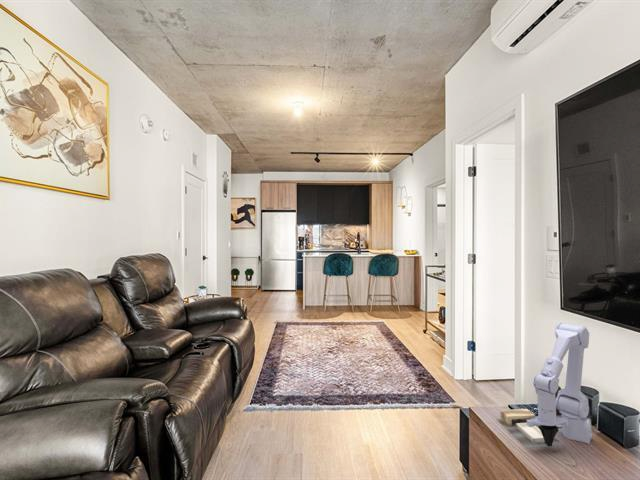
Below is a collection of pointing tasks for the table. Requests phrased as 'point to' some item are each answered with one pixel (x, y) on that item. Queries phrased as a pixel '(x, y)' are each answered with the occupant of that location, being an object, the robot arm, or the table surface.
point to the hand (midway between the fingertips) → (548, 444)
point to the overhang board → (521, 416)
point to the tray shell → (531, 433)
